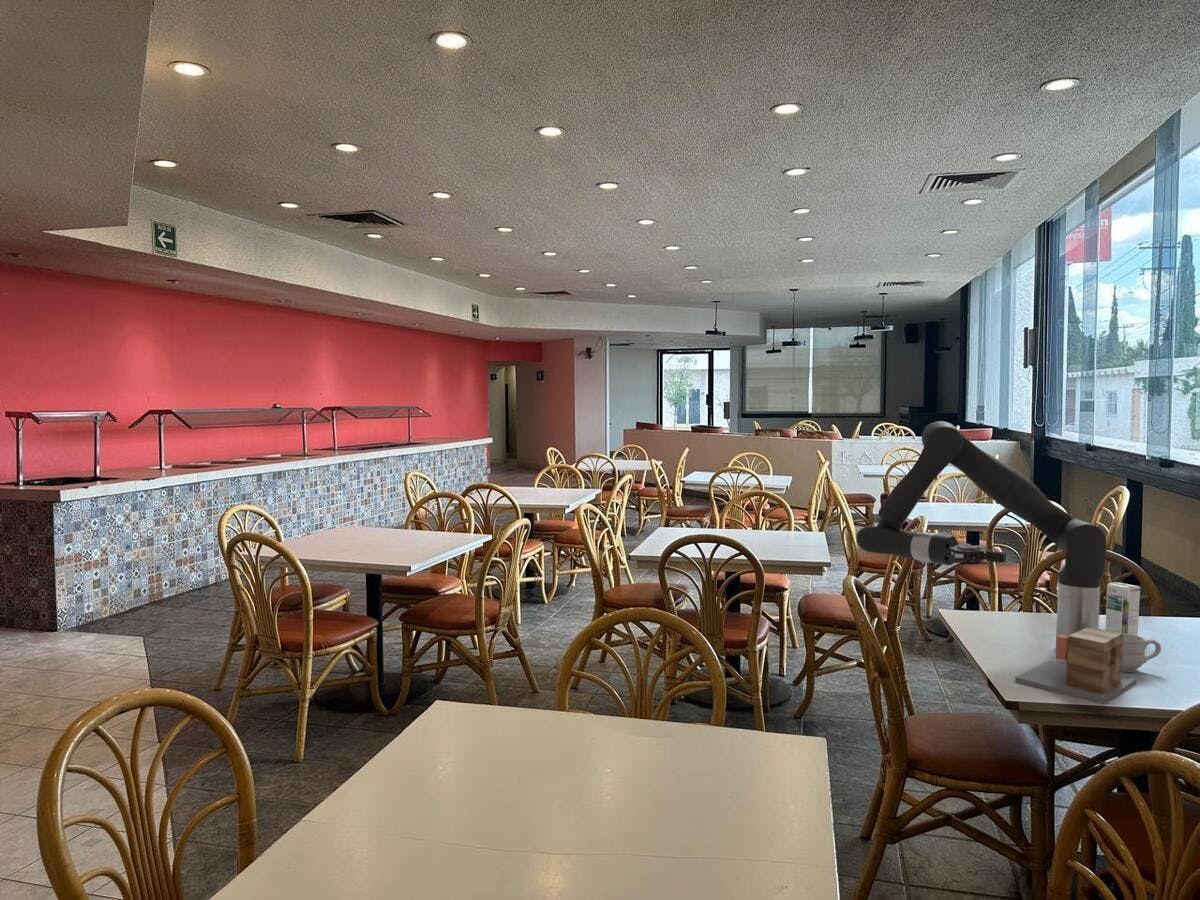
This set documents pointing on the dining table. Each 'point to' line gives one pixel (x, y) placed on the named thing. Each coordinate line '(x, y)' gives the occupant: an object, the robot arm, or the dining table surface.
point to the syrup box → (1122, 608)
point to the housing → (1094, 659)
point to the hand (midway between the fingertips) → (1004, 558)
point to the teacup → (1136, 652)
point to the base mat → (1055, 677)
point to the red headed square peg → (1062, 646)
